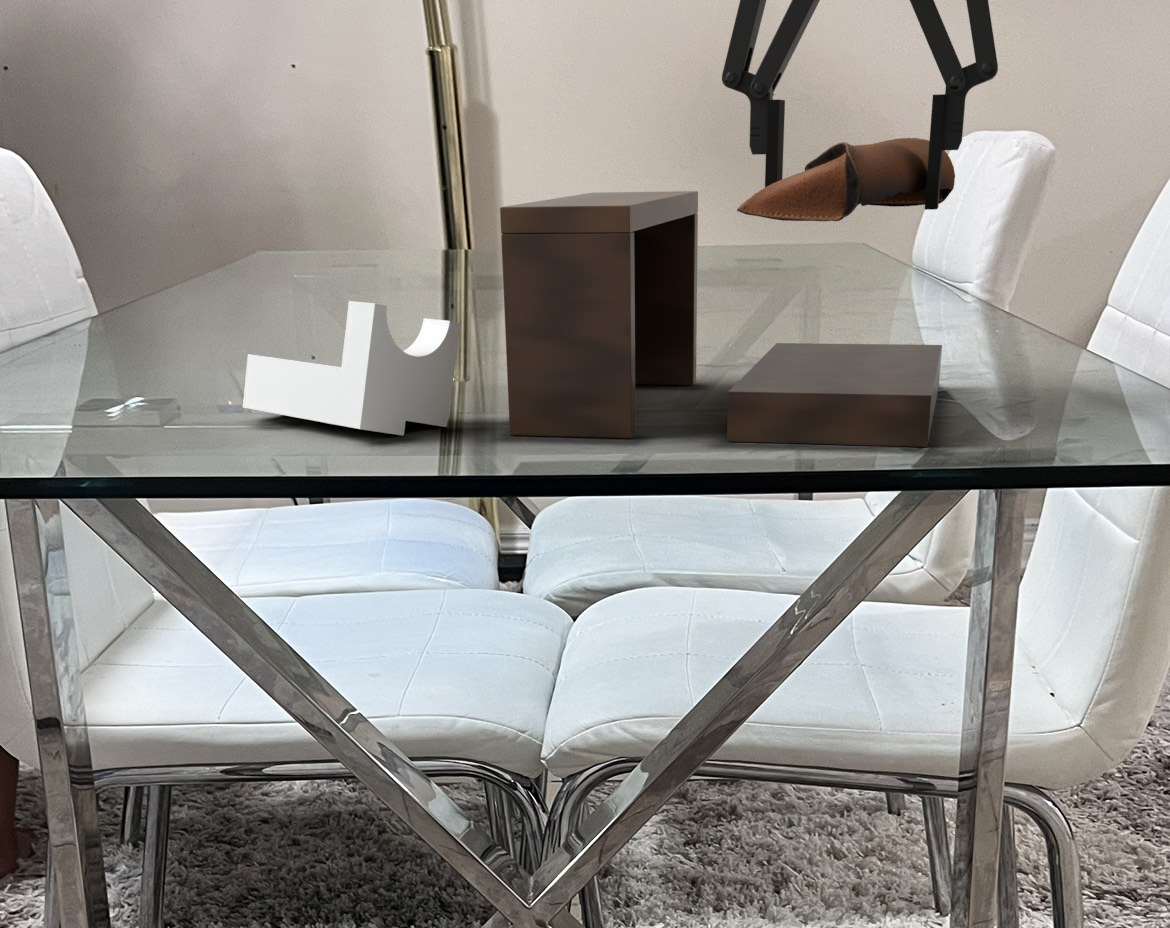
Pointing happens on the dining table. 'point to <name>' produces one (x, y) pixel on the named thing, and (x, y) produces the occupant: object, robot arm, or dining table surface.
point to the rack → (672, 335)
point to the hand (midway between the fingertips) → (851, 209)
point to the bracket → (363, 377)
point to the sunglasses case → (852, 182)
